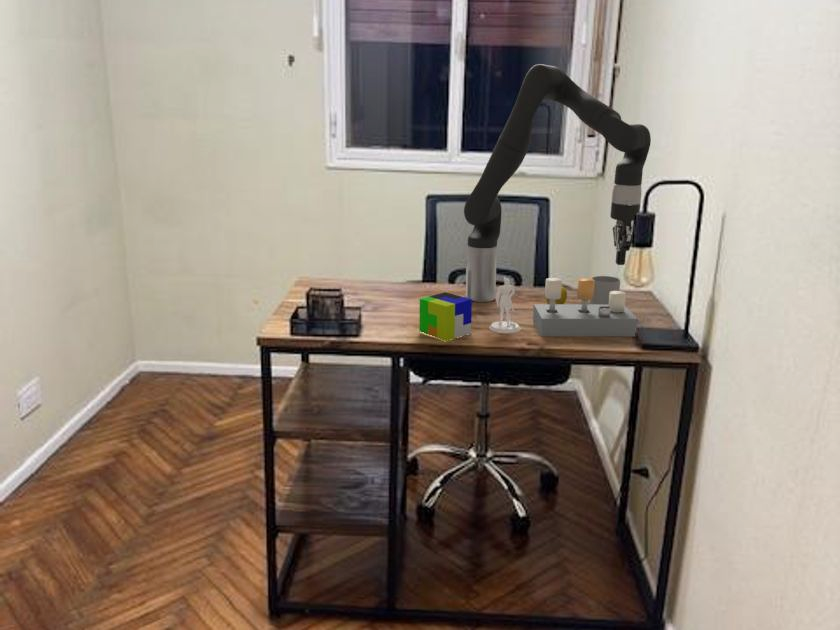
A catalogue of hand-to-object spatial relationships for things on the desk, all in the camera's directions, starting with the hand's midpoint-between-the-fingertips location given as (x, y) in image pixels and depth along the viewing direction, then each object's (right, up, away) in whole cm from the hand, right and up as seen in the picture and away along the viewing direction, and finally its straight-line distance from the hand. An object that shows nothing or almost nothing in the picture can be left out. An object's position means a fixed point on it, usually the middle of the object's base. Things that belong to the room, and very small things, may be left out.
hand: (620, 264), depth 207 cm
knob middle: (-9, -13, +4) cm, 16 cm away
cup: (+1, -13, +22) cm, 25 cm away
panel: (-9, -18, +5) cm, 21 cm away
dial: (-4, -14, 0) cm, 15 cm away
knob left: (-18, -13, +4) cm, 23 cm away
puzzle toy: (-48, -19, 0) cm, 52 cm away
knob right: (0, -16, +5) cm, 17 cm away
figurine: (-31, -18, +5) cm, 36 cm away
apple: (-13, -12, +24) cm, 30 cm away
